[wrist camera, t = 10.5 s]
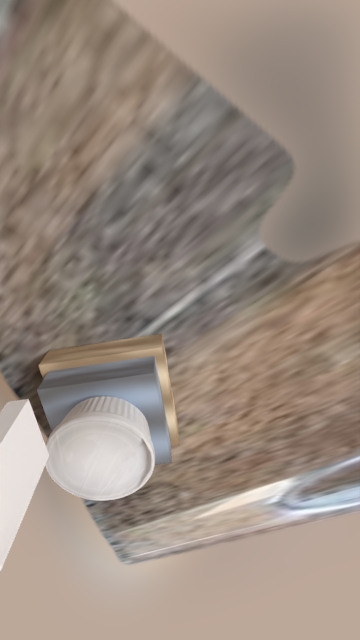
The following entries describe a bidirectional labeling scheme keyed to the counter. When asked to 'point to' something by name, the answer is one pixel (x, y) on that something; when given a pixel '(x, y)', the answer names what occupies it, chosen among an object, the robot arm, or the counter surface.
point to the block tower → (114, 383)
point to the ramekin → (101, 450)
